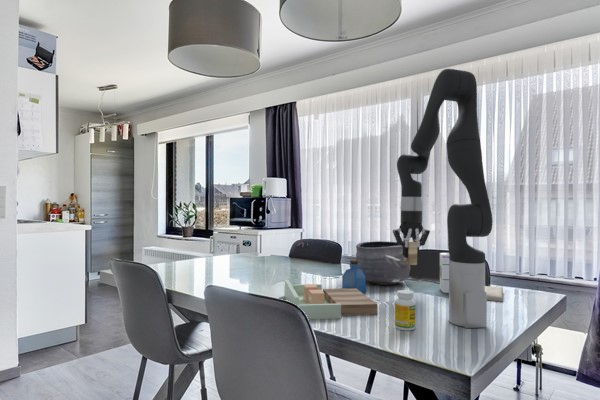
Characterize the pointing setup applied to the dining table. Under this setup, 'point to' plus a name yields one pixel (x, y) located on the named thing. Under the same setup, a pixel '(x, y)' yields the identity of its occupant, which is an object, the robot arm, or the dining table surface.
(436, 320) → the dining table surface
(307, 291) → the tile
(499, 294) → the washcloth
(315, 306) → the tray
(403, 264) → the scraper
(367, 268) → the tea bowl
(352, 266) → the perfume bottle
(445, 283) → the syrup box
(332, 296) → the block
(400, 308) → the supplement bottle
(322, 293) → the peach block
